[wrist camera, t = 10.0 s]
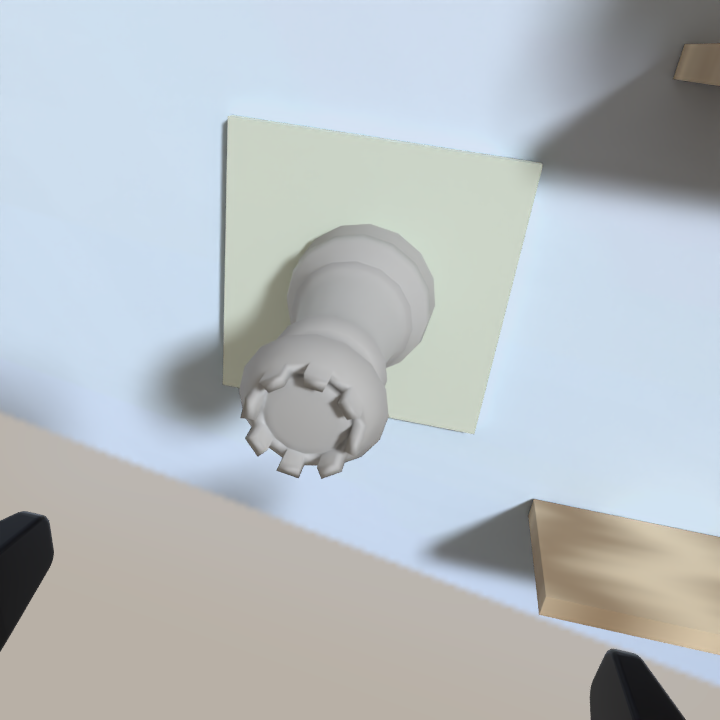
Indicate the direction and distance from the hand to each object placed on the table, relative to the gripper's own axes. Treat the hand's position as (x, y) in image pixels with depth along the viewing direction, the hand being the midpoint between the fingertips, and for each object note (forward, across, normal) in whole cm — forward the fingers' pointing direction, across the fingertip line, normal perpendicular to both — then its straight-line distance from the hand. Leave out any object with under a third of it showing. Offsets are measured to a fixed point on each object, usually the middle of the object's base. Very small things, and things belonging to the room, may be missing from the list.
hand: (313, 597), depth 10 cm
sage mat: (+12, +1, -1) cm, 12 cm away
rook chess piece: (+12, +1, -1) cm, 12 cm away
